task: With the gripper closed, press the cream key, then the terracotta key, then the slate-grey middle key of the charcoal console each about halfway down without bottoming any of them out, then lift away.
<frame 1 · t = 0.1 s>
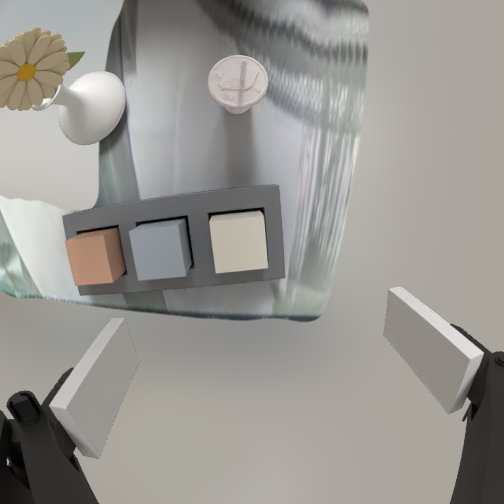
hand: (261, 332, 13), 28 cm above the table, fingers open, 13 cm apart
key cream: (238, 240, 35), point 5 cm above the table, slide at 0.0 cm
smoothie: (237, 102, 36), on the table
flower in vase: (100, 107, 34), on the table
key slate: (162, 248, 34), point 5 cm above the table, slide at 0.0 cm
key terracotta: (96, 256, 34), point 5 cm above the table, slide at 0.0 cm
console: (171, 238, 40), on the table
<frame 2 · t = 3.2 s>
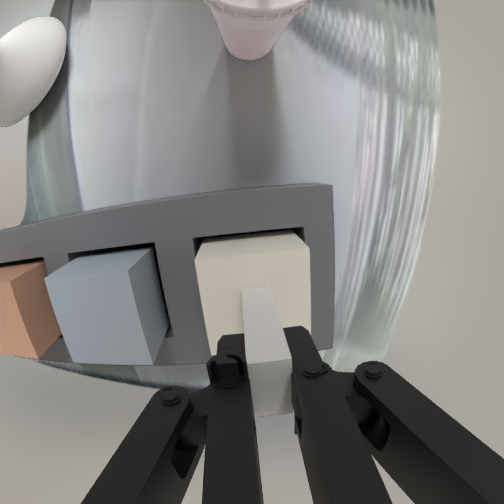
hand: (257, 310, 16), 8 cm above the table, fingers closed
key cream: (254, 289, 18), point 5 cm above the table, slide at 0.8 cm, touching gripper
smoothie: (248, 42, 18), on the table
flower in vase: (35, 69, 17), on the table
key slate: (110, 305, 17), point 5 cm above the table, slide at 0.0 cm
key terracotta: (17, 308, 17), point 5 cm above the table, slide at 0.0 cm
console: (135, 277, 22), on the table
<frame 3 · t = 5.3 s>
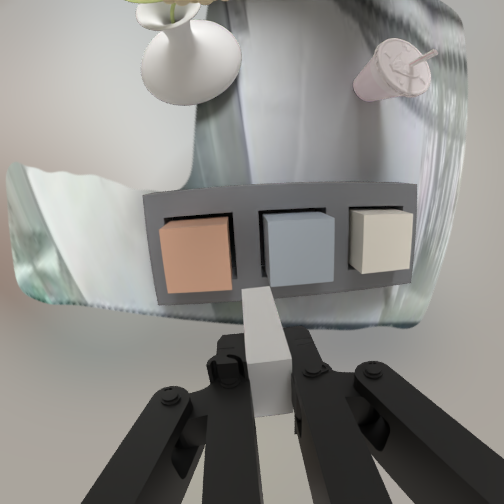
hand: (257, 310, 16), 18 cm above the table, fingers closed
key cream: (377, 238, 30), point 4 cm above the table, slide at 1.2 cm
smoothie: (365, 88, 29), on the table
flower in vase: (199, 64, 28), on the table
key slate: (297, 246, 28), point 5 cm above the table, slide at 0.0 cm
key terracotta: (198, 252, 28), point 5 cm above the table, slide at 0.0 cm
console: (287, 234, 33), on the table
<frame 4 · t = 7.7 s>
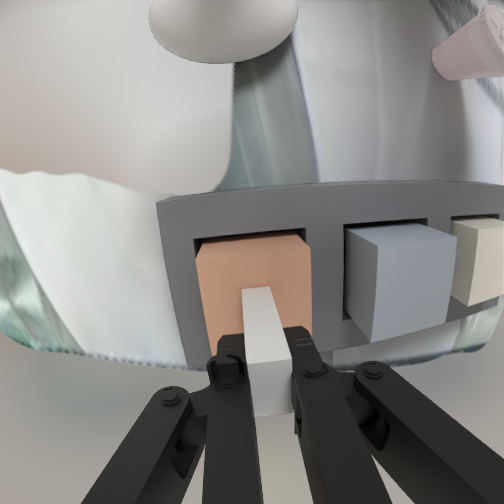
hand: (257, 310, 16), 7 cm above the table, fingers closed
key cream: (476, 256, 19), point 4 cm above the table, slide at 1.2 cm
smoothie: (443, 64, 19), on the table
flower in vase: (233, 14, 17), on the table
key slate: (398, 276, 17), point 5 cm above the table, slide at 0.0 cm
key terracotta: (255, 289, 18), point 5 cm above the table, slide at 1.0 cm, touching gripper
console: (365, 254, 23), on the table
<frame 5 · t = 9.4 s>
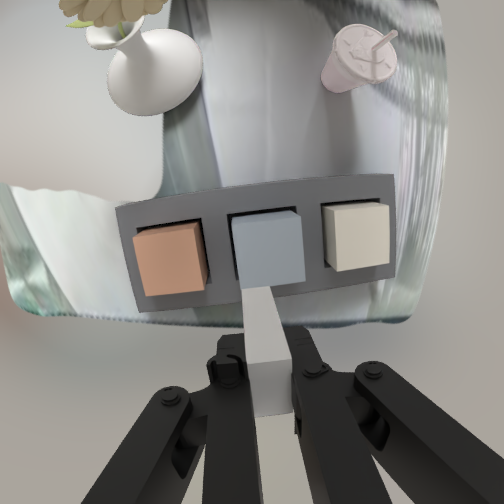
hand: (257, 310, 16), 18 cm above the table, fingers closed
key cream: (354, 233, 29), point 4 cm above the table, slide at 1.2 cm
smoothie: (334, 79, 29), on the table
flower in vase: (163, 73, 28), on the table
key slate: (267, 247, 28), point 5 cm above the table, slide at 0.0 cm
key terracotta: (173, 256, 29), point 4 cm above the table, slide at 1.2 cm
console: (262, 235, 33), on the table
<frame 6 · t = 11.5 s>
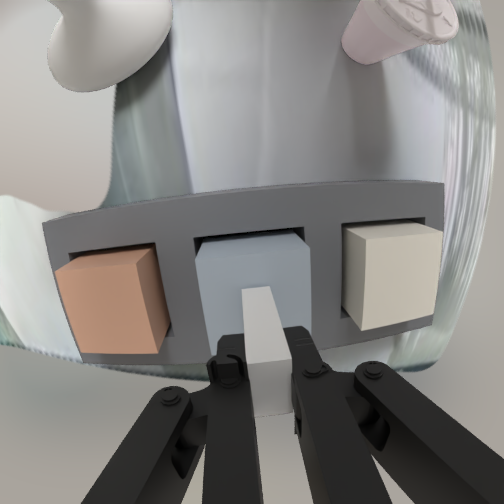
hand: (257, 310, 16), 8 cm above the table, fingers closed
key cream: (387, 269, 19), point 4 cm above the table, slide at 1.2 cm
smoothie: (360, 47, 19), on the table
flower in vase: (122, 35, 17), on the table
key slate: (254, 289, 18), point 5 cm above the table, slide at 0.7 cm, touching gripper
key terracotta: (117, 297, 18), point 4 cm above the table, slide at 1.2 cm
console: (250, 265, 23), on the table
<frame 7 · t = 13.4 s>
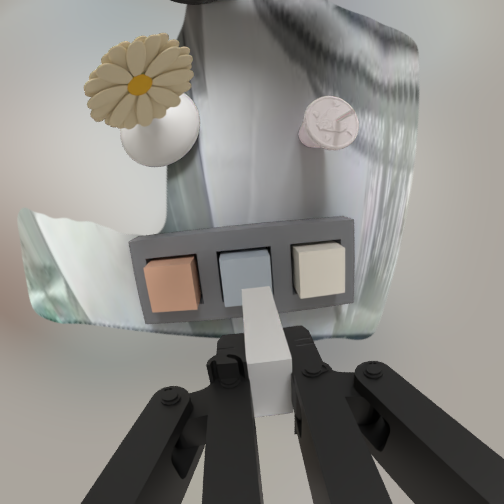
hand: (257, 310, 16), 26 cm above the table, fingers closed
key cream: (317, 267, 38), point 4 cm above the table, slide at 1.2 cm
smoothie: (310, 135, 38), on the table
flower in vase: (167, 127, 37), on the table
key slate: (246, 275, 37), point 4 cm above the table, slide at 1.2 cm
key terracotta: (174, 282, 37), point 4 cm above the table, slide at 1.2 cm
console: (244, 266, 42), on the table
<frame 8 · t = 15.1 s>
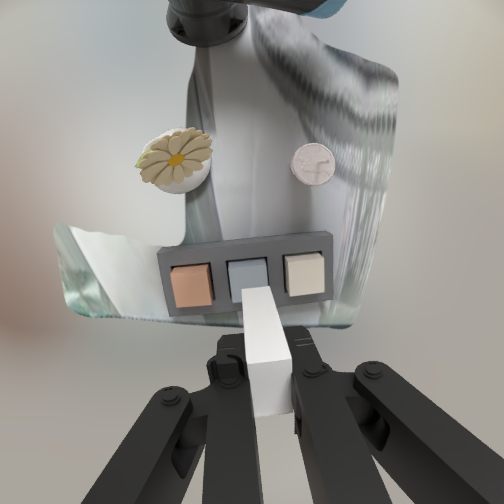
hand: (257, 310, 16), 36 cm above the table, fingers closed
key cream: (303, 272, 49), point 4 cm above the table, slide at 1.2 cm
smoothie: (300, 166, 49), on the table
flower in vase: (184, 160, 48), on the table
key slate: (248, 278, 49), point 4 cm above the table, slide at 1.2 cm
key terracotta: (193, 284, 49), point 4 cm above the table, slide at 1.2 cm
console: (247, 270, 53), on the table
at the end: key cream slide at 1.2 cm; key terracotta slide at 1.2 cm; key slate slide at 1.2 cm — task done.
